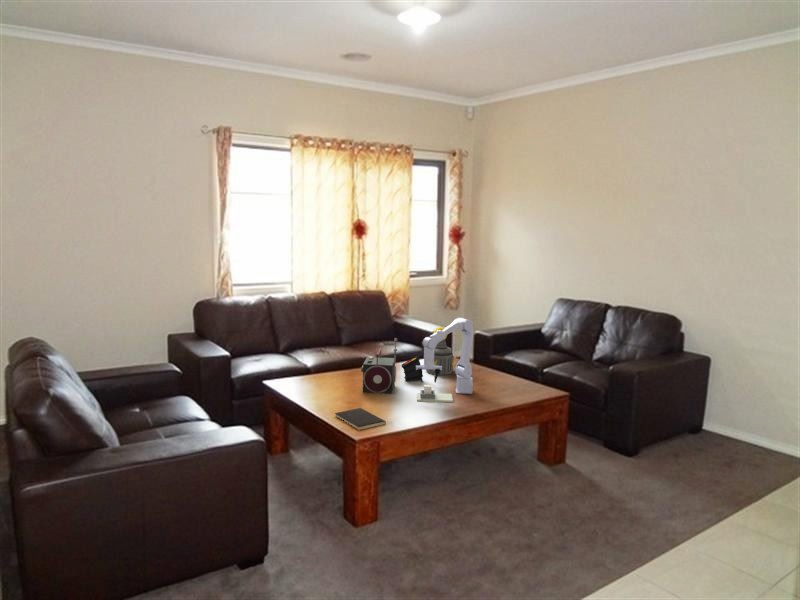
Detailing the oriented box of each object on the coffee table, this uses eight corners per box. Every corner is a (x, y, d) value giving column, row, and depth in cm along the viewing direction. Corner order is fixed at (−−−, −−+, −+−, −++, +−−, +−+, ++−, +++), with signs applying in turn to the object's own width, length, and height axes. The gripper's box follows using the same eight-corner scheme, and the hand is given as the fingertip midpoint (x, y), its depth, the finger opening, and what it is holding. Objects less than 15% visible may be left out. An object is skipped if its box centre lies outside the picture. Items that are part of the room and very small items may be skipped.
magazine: (427, 377, 372) (418, 357, 368) (409, 388, 369) (400, 367, 365) (425, 376, 376) (416, 355, 371) (407, 386, 372) (398, 366, 368)
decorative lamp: (448, 376, 381) (450, 331, 377) (421, 373, 388) (422, 328, 383) (456, 369, 399) (458, 325, 394) (430, 366, 405) (431, 323, 401)
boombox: (364, 383, 362) (365, 335, 358) (398, 385, 361) (399, 337, 356) (360, 392, 344) (360, 342, 340) (395, 394, 343) (396, 343, 338)
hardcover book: (358, 431, 286) (358, 426, 286) (334, 417, 305) (334, 413, 304) (385, 424, 296) (385, 420, 295) (361, 411, 314) (361, 407, 314)
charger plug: (430, 394, 339) (431, 384, 338) (431, 397, 335) (431, 386, 334) (423, 394, 339) (424, 384, 338) (424, 397, 335) (424, 386, 334)
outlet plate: (451, 395, 343) (451, 389, 342) (452, 402, 331) (453, 396, 330) (416, 394, 343) (417, 388, 343) (416, 401, 331) (417, 395, 331)
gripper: (441, 357, 338) (440, 380, 340) (415, 356, 338) (415, 379, 340) (442, 360, 331) (441, 383, 333) (416, 359, 331) (415, 383, 333)
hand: (428, 381), depth 336 cm, fingers open, 7 cm apart
